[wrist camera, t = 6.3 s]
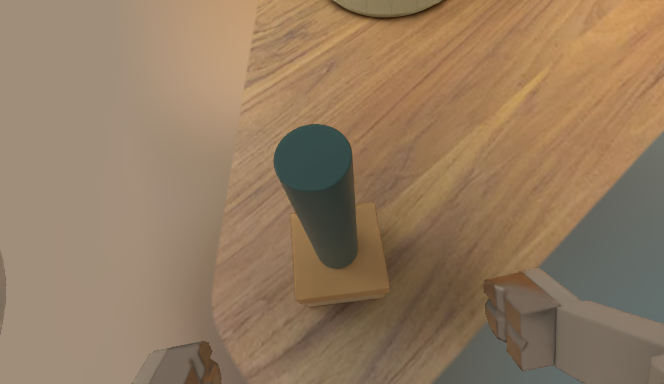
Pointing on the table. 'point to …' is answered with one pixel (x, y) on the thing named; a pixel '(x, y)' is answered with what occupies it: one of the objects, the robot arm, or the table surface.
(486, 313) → the robot arm
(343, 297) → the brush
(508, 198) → the table surface
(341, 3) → the bowl
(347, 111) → the table surface
